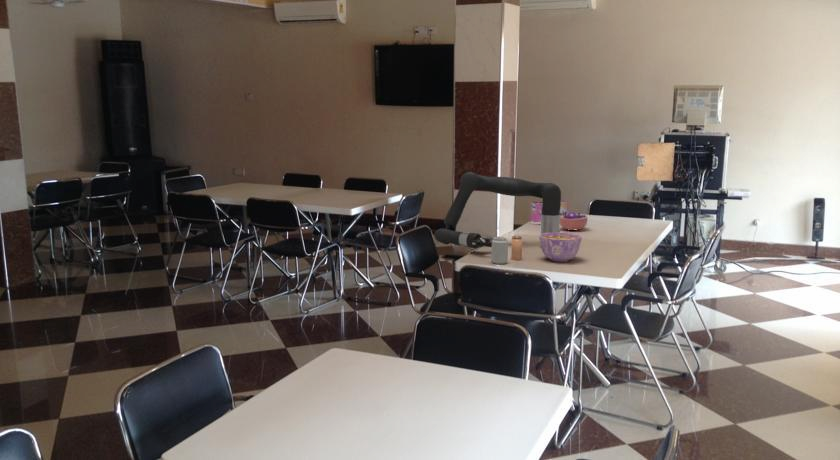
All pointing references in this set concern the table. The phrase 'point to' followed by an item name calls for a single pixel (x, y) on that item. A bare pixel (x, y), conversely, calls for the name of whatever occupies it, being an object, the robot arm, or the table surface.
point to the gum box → (537, 208)
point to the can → (499, 250)
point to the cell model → (573, 221)
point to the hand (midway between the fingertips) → (497, 243)
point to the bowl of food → (560, 245)
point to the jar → (516, 248)
